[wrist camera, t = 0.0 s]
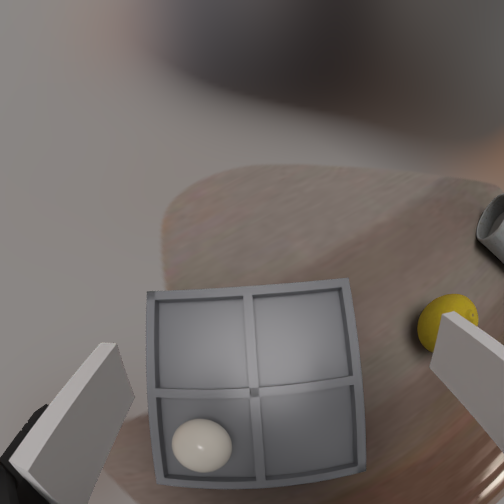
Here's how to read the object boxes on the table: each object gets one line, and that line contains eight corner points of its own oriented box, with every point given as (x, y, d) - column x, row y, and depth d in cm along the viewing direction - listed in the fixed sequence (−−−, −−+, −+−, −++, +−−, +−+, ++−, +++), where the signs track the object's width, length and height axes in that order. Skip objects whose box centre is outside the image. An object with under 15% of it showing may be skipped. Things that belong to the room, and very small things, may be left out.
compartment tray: (358, 464, 19) (366, 470, 17) (164, 476, 19) (156, 483, 17) (341, 284, 27) (348, 277, 25) (154, 297, 27) (147, 291, 25)
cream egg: (236, 462, 19) (231, 481, 15) (183, 461, 19) (167, 478, 15) (232, 414, 21) (226, 424, 17) (178, 413, 21) (160, 422, 17)
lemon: (423, 368, 23) (472, 362, 15) (394, 330, 25) (438, 313, 17) (452, 332, 24) (499, 315, 17) (425, 296, 26) (469, 269, 18)
